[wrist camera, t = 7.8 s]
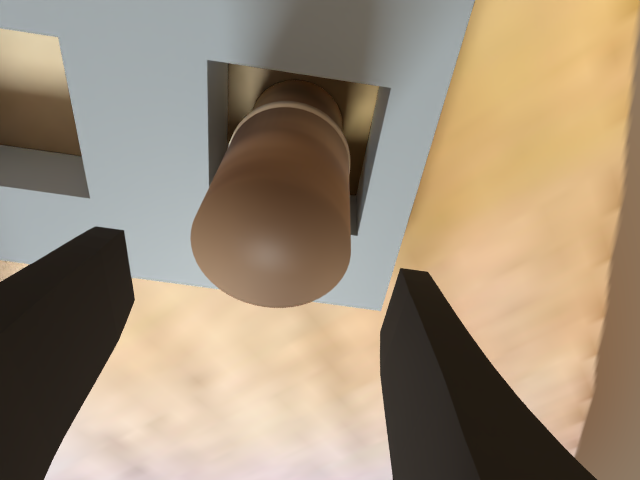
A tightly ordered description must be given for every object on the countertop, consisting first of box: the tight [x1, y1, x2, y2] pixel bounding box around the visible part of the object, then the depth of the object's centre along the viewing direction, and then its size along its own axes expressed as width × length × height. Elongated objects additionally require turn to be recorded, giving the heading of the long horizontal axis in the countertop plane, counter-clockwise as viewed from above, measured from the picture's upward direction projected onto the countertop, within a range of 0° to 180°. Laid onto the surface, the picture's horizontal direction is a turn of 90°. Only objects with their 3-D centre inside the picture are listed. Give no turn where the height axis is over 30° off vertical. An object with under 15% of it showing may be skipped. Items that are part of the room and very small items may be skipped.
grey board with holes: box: [0, 0, 475, 311], centre depth 16 cm, size 19×13×3 cm
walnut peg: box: [190, 80, 351, 308], centre depth 14 cm, size 4×4×8 cm
